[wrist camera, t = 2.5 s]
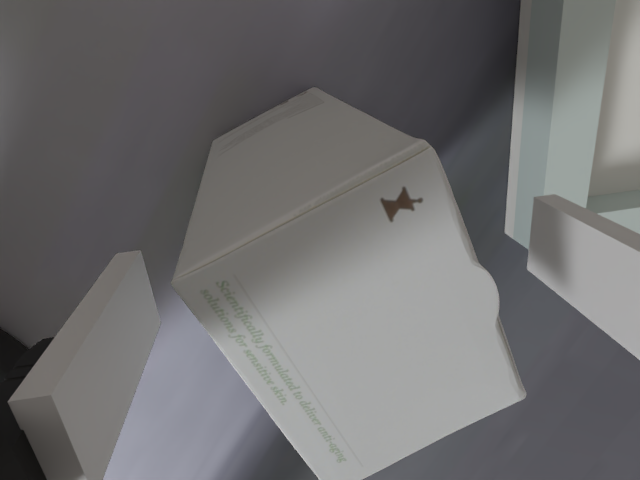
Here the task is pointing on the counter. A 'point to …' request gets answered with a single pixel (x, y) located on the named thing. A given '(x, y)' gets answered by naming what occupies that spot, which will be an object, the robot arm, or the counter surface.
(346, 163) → the skincare box
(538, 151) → the square shallow tray
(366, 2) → the counter surface
